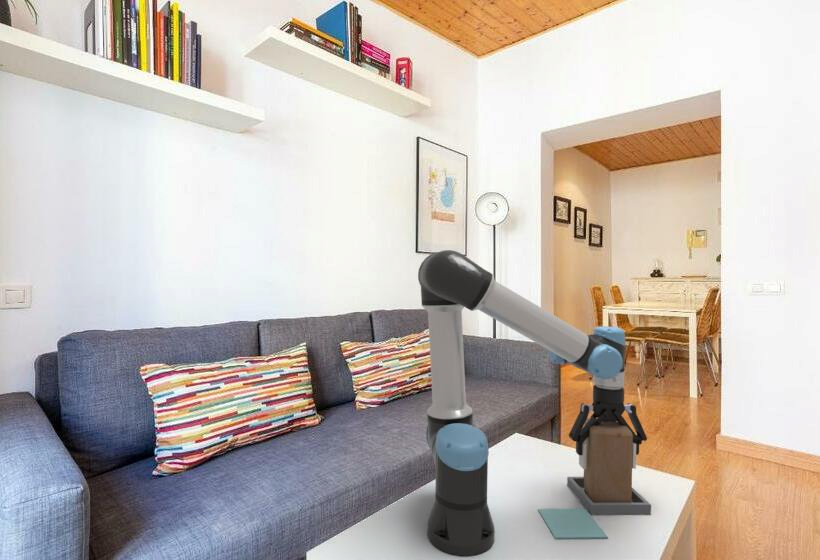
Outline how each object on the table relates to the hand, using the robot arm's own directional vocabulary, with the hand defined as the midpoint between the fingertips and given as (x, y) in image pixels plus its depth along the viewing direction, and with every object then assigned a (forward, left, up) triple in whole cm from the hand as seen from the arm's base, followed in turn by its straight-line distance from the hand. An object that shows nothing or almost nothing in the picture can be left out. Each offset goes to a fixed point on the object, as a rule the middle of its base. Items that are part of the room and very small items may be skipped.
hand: (607, 466), depth 116 cm
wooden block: (0, 0, -9) cm, 9 cm away
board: (-14, -11, -9) cm, 20 cm away
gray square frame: (0, 0, -9) cm, 9 cm away
